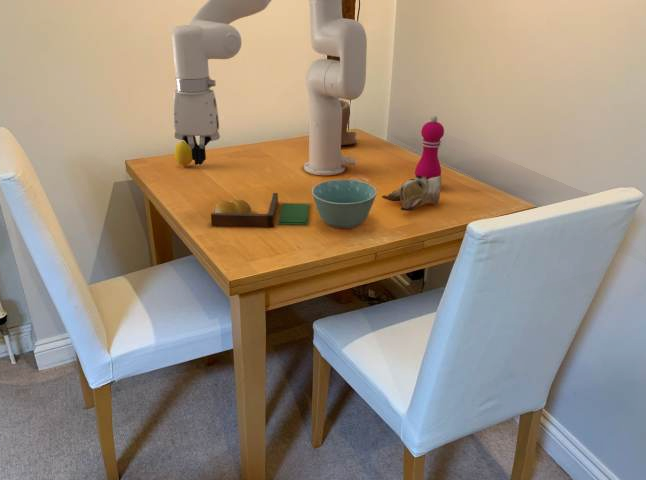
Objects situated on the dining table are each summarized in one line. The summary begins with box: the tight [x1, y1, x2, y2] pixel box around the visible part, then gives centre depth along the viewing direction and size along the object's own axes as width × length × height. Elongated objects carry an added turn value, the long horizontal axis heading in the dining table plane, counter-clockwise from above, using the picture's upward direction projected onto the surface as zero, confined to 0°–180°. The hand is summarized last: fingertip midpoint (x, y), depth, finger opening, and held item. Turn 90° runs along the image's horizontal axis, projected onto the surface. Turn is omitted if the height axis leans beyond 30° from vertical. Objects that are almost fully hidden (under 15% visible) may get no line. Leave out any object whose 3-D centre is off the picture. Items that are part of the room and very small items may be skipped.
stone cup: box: [339, 98, 357, 146], centre depth 196 cm, size 15×12×15 cm
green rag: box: [277, 202, 310, 226], centre depth 148 cm, size 7×13×1 cm, turn 178°
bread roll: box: [214, 199, 252, 214], centre depth 146 cm, size 8×9×4 cm
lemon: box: [173, 140, 193, 168], centre depth 177 cm, size 6×6×8 cm
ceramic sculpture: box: [381, 175, 442, 212], centre depth 151 cm, size 11×9×15 cm
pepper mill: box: [414, 115, 445, 180], centre depth 160 cm, size 7×7×20 cm
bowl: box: [311, 179, 378, 230], centre depth 142 cm, size 16×16×8 cm
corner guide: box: [210, 192, 279, 228], centre depth 147 cm, size 15×15×3 cm
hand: (199, 162), depth 142 cm, fingers closed
